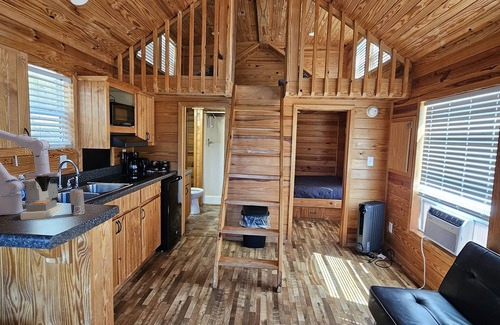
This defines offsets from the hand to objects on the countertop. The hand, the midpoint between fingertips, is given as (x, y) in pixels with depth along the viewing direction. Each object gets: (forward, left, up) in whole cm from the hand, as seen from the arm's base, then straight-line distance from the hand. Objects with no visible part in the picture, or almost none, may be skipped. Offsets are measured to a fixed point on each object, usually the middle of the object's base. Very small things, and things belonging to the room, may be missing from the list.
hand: (44, 191), depth 132 cm
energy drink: (+19, -8, -11) cm, 23 cm away
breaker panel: (+2, -6, -10) cm, 12 cm away
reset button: (+2, -6, -7) cm, 9 cm away
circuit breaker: (-8, +12, -11) cm, 18 cm away
